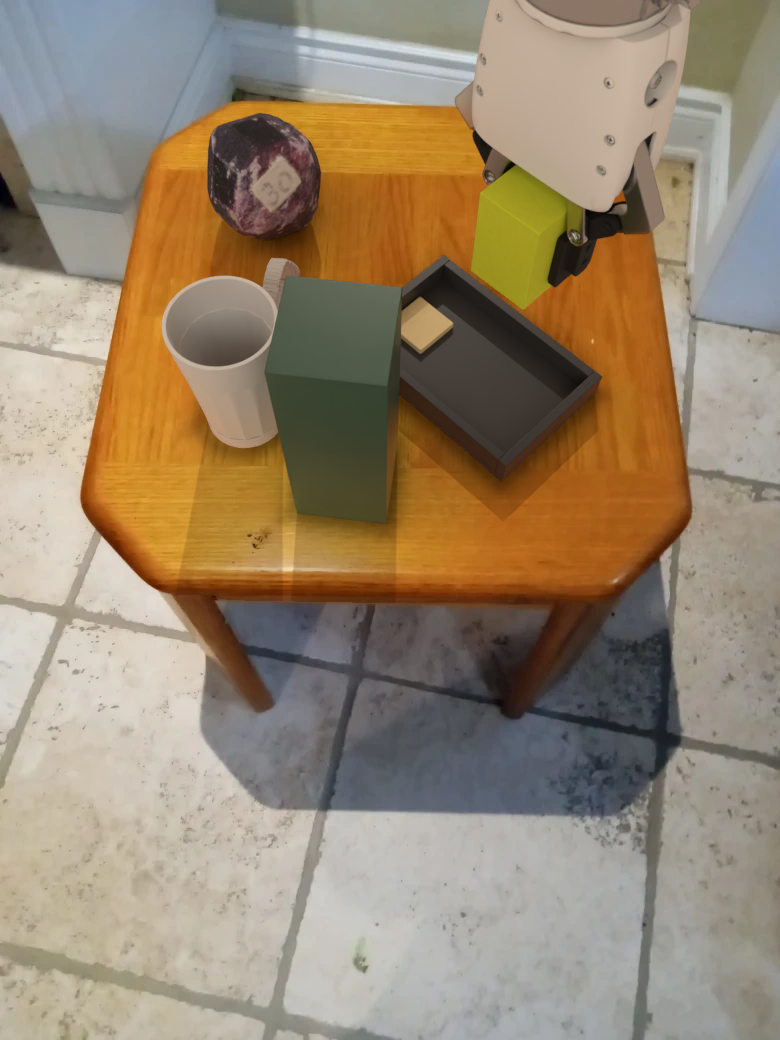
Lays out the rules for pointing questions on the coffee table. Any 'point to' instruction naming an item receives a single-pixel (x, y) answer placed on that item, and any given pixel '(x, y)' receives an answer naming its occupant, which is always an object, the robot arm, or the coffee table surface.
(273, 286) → the wristwatch
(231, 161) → the mineral specimen
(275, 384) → the tall green box
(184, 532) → the coffee table surface
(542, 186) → the yellow-green rectangular block
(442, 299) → the pan
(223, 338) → the cup
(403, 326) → the beige flat square block
